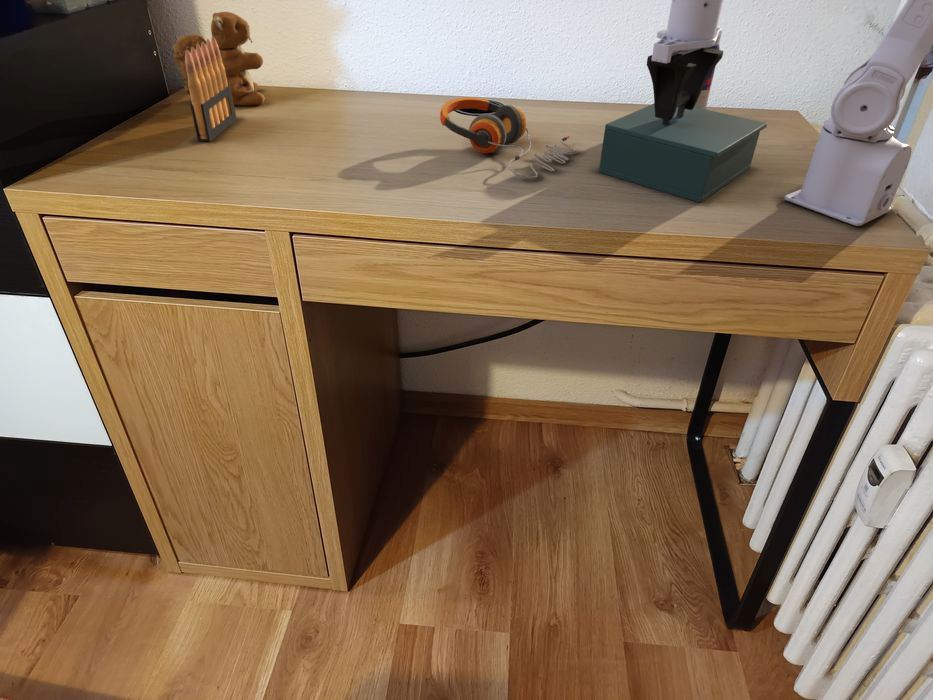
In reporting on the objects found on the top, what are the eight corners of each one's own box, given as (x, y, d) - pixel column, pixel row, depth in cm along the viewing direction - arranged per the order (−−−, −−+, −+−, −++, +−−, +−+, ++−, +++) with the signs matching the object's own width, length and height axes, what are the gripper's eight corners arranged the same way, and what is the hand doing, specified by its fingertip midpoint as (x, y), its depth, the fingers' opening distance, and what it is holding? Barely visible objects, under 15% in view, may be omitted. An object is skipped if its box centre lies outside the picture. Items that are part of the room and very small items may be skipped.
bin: (749, 169, 89) (761, 126, 86) (700, 203, 80) (711, 157, 76) (653, 144, 97) (661, 104, 93) (598, 172, 87) (604, 129, 84)
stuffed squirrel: (268, 105, 108) (255, 17, 101) (178, 109, 106) (157, 19, 98) (268, 89, 116) (256, 6, 108) (184, 93, 113) (165, 8, 106)
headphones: (539, 164, 81) (416, 98, 88) (527, 201, 85) (410, 135, 91) (599, 131, 93) (486, 75, 99) (586, 165, 96) (478, 108, 102)
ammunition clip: (209, 141, 94) (190, 51, 87) (197, 141, 94) (176, 51, 87) (237, 118, 102) (221, 35, 95) (225, 118, 102) (209, 34, 95)
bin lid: (766, 127, 85) (774, 97, 83) (716, 157, 76) (724, 124, 74) (661, 104, 93) (666, 75, 91) (604, 128, 84) (609, 98, 81)
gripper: (693, -16, 83) (671, 95, 91) (637, -4, 74) (618, 118, 82) (748, -9, 79) (720, 106, 88) (695, 4, 71) (670, 131, 79)
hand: (674, 113), depth 85 cm, fingers open, 5 cm apart
